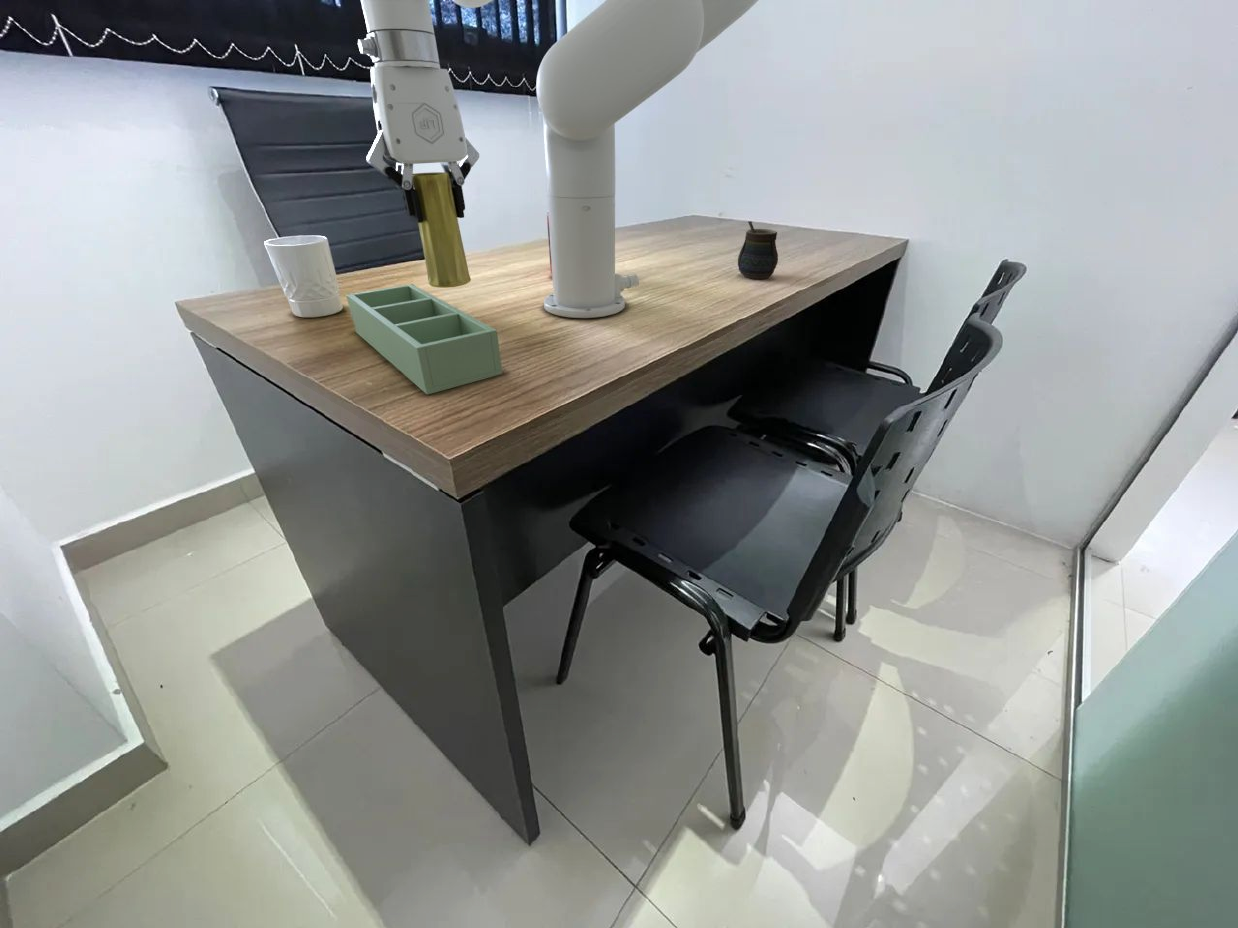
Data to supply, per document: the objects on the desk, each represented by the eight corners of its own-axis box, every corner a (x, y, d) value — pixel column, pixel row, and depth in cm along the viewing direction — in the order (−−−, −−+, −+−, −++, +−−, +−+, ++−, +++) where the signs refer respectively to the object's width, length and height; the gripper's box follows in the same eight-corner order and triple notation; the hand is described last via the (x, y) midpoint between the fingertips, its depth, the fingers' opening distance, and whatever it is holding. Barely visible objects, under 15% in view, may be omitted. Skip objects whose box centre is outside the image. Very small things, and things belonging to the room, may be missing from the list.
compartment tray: (420, 320, 74) (412, 284, 71) (502, 374, 58) (497, 330, 55) (356, 332, 69) (345, 294, 67) (427, 395, 53) (416, 348, 51)
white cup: (324, 321, 73) (300, 246, 68) (276, 317, 75) (249, 244, 69) (358, 305, 80) (339, 236, 74) (313, 302, 81) (292, 234, 76)
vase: (472, 286, 75) (452, 174, 67) (428, 289, 73) (403, 176, 66) (470, 276, 80) (451, 171, 72) (429, 280, 78) (405, 173, 70)
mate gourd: (782, 276, 97) (792, 218, 92) (762, 284, 93) (772, 223, 87) (748, 270, 101) (756, 215, 96) (728, 277, 96) (735, 219, 91)
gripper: (339, 46, 55) (385, 229, 65) (484, 55, 64) (505, 215, 74) (322, 54, 60) (366, 223, 70) (459, 61, 69) (481, 210, 79)
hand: (437, 217), depth 72 cm, fingers closed on vase, 5 cm apart
